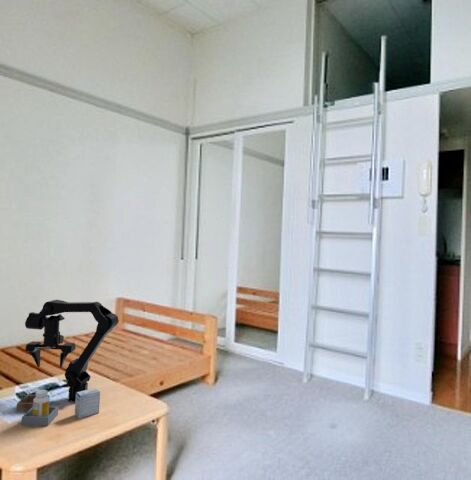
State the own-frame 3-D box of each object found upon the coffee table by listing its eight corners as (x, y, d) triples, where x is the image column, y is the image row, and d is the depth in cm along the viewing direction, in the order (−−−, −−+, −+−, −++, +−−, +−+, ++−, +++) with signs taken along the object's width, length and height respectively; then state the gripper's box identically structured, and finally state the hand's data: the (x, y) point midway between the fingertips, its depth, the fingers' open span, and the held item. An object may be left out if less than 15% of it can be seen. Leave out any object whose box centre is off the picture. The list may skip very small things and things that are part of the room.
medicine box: (94, 409, 161) (95, 387, 161) (99, 413, 157) (100, 390, 157) (74, 414, 155) (75, 392, 155) (79, 419, 152) (80, 395, 152)
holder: (48, 402, 165) (49, 395, 165) (39, 411, 156) (39, 403, 156) (27, 401, 164) (27, 394, 164) (16, 411, 156) (16, 403, 156)
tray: (58, 414, 154) (58, 406, 154) (47, 425, 145) (48, 417, 145) (33, 414, 154) (33, 406, 154) (21, 425, 145) (21, 416, 145)
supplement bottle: (49, 414, 153) (50, 388, 153) (47, 420, 148) (49, 393, 148) (33, 415, 151) (34, 389, 151) (31, 421, 146) (32, 394, 146)
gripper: (80, 327, 180) (79, 362, 180) (37, 325, 179) (35, 360, 179) (71, 332, 169) (69, 370, 169) (25, 331, 168) (23, 369, 168)
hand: (49, 367), depth 171 cm, fingers open, 9 cm apart
